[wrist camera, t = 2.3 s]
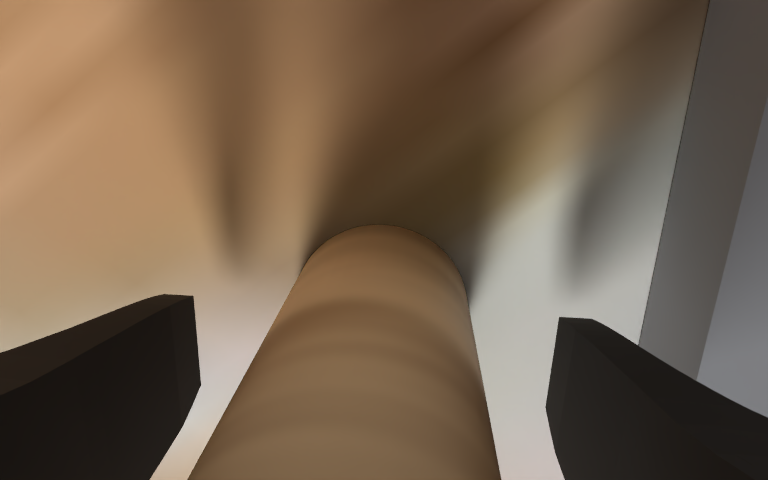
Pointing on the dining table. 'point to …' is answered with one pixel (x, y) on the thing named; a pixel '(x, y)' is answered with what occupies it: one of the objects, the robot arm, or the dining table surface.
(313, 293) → the peg
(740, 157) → the docking block
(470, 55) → the dining table surface
